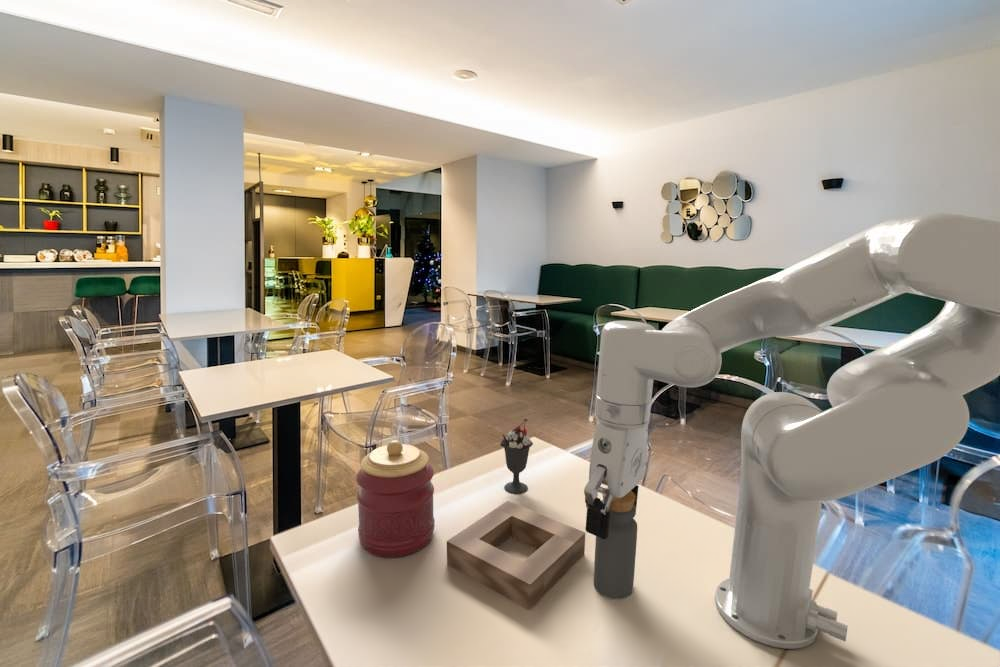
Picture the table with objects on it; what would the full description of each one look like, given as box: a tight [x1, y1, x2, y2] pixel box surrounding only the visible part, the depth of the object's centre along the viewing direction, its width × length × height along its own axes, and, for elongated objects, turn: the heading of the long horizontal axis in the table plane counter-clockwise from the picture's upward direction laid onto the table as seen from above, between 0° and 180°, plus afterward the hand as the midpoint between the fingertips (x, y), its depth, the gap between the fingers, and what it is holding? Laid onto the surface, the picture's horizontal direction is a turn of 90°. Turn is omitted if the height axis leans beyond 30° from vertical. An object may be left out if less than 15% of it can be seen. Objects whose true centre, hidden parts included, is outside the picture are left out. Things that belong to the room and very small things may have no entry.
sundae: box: [500, 418, 534, 495], centre depth 102 cm, size 7×7×15 cm
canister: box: [355, 439, 436, 558], centre depth 84 cm, size 13×13×18 cm
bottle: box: [593, 487, 638, 600], centre depth 72 cm, size 6×6×15 cm
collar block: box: [446, 500, 586, 611], centre depth 79 cm, size 16×16×4 cm
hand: (611, 520), depth 72 cm, fingers open, 9 cm apart
